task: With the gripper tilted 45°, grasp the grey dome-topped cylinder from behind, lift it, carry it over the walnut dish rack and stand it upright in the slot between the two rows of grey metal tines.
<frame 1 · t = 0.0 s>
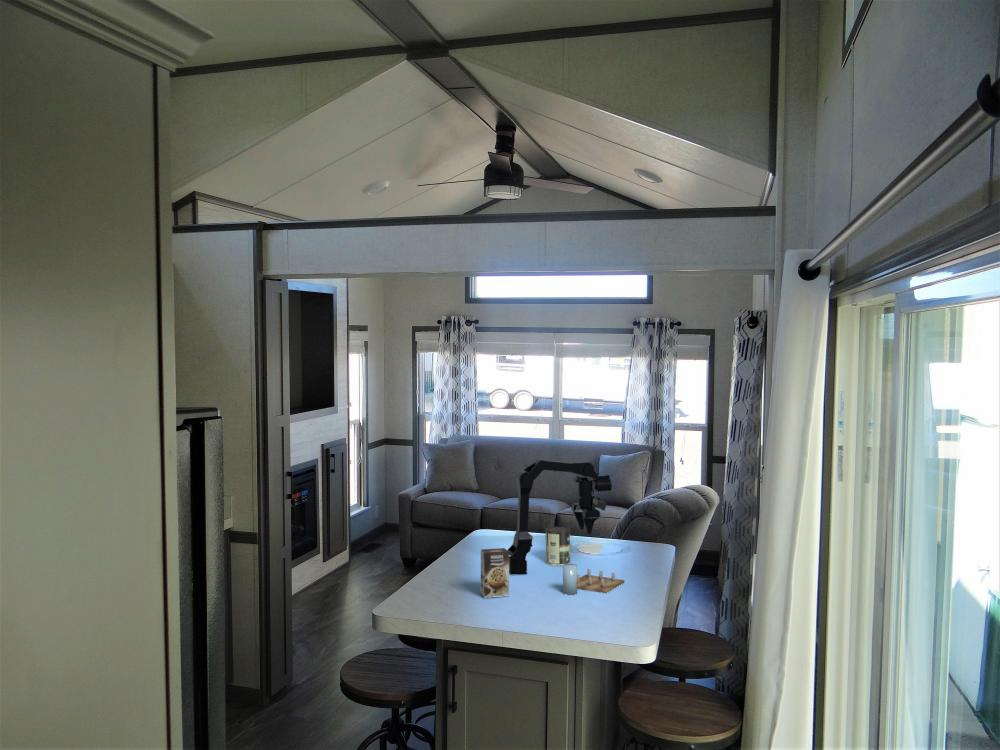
hand: (585, 531, 319), 15 cm above the table, tool pointing down, fingers open, 9 cm apart
dish rack: (595, 584, 295), on the table
plate: (599, 550, 352), on the table
brown food box: (494, 596, 282), on the table
coffee can: (557, 563, 328), on the table
grey dome-topped cylinder: (570, 593, 284), on the table
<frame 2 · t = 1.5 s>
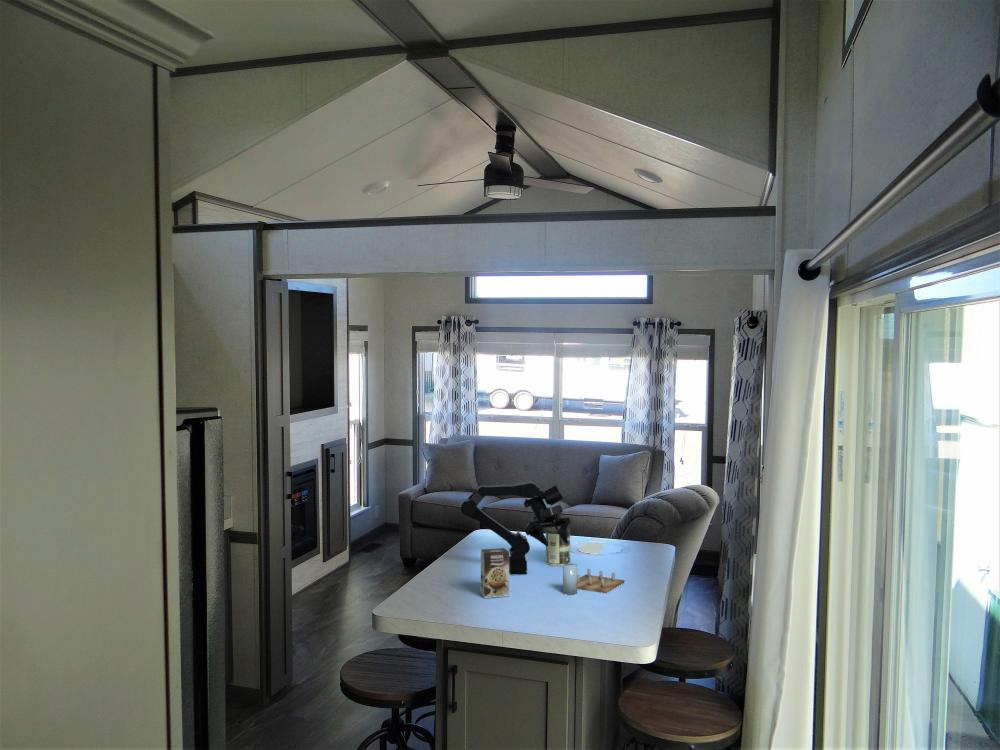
hand: (557, 544, 302), 13 cm above the table, tool tilted 45°, fingers open, 9 cm apart
nothing on the table moved.
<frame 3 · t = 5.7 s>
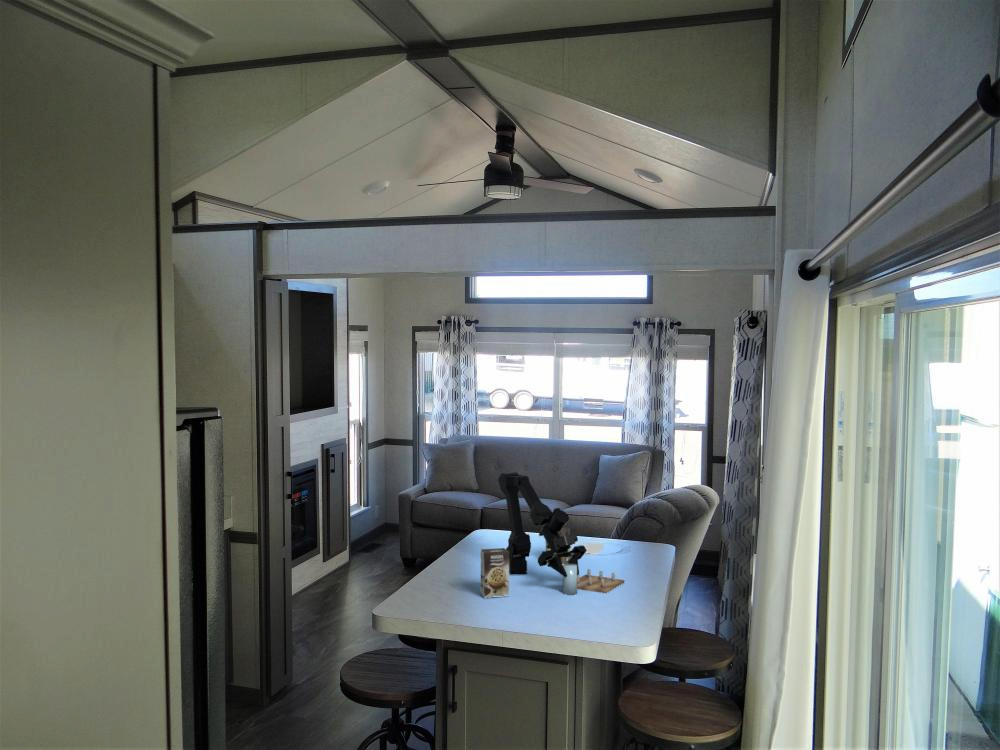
hand: (572, 575, 283), 7 cm above the table, tool tilted 45°, fingers closed on grey dome-topped cylinder, 5 cm apart
grey dome-topped cylinder: (570, 593, 284), on the table, touching gripper
everything else where it was.
when the fingers open (9 cm above the table, at t = 10.9 s): grey dome-topped cylinder drops 1 cm, resting on dish rack.
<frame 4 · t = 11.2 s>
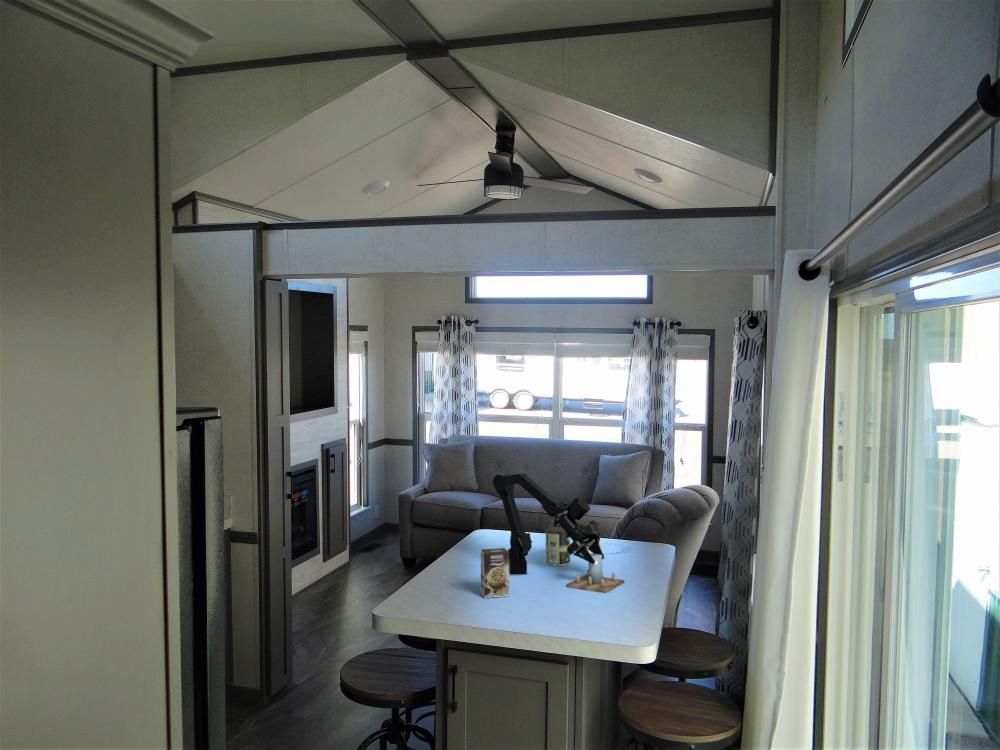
hand: (598, 560, 294), 9 cm above the table, tool tilted 45°, fingers open, 8 cm apart
grey dome-topped cylinder: (595, 582, 295), point 1 cm above the table, touching dish rack
everything else where it was.
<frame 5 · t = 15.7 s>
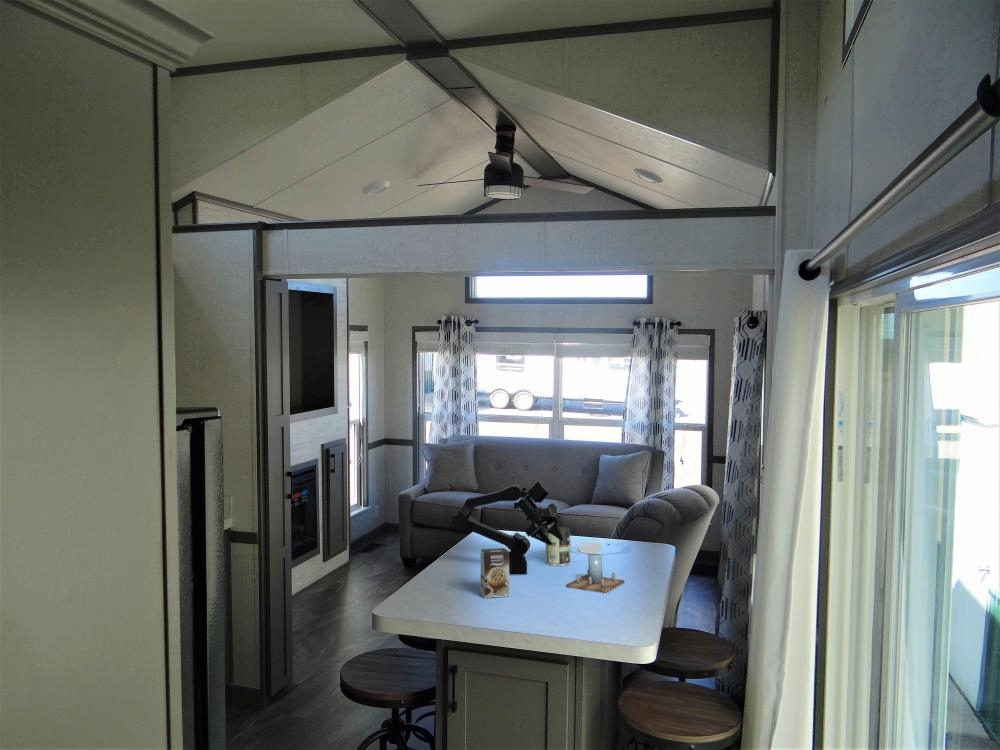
hand: (556, 542, 305), 14 cm above the table, tool tilted 45°, fingers open, 9 cm apart
nothing on the table moved.
at the end: grey dome-topped cylinder inside the target area on the dish rack (0.0 cm from its centre), point 1.0 cm above the dish rack's base; grey dome-topped cylinder tilted 1°; the gripper is holding nothing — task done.
